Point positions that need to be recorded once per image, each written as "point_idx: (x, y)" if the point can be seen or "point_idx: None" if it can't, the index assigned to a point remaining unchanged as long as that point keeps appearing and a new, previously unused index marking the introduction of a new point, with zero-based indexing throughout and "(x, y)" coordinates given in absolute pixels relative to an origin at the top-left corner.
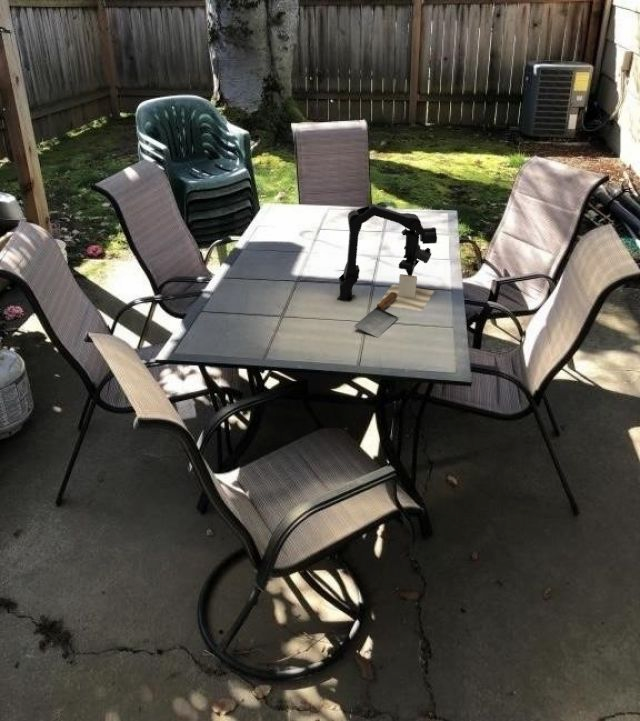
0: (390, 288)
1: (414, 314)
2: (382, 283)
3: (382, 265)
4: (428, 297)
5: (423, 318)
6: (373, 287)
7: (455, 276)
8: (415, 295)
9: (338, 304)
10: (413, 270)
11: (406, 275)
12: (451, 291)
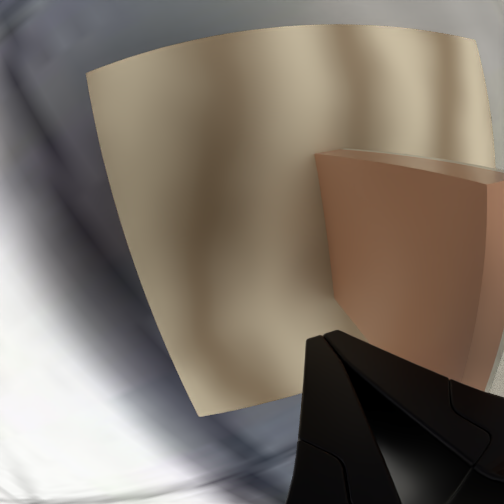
0: (267, 398)
1: (491, 80)
2: (198, 453)
3: (48, 490)
4: (259, 43)
5: (493, 26)
6: (276, 454)
7: None
8: (334, 152)
9: None
10: (313, 416)
11: (478, 365)
12: (17, 6)
